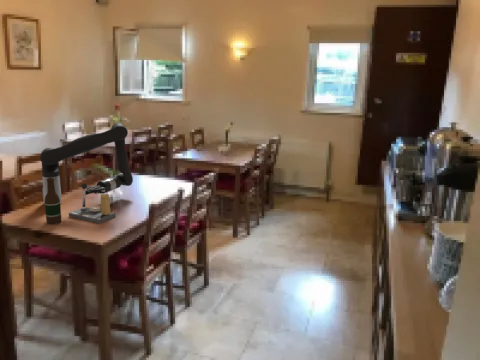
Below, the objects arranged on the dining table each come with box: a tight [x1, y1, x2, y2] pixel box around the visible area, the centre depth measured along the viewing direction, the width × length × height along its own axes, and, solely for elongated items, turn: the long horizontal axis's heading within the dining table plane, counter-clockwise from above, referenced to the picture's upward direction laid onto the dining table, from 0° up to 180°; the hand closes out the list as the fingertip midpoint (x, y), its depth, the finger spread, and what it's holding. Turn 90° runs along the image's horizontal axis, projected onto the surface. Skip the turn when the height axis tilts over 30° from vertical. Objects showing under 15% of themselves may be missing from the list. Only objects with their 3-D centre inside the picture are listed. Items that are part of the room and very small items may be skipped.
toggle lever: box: [80, 182, 88, 208], centre depth 227 cm, size 3×3×14 cm
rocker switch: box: [88, 206, 101, 212], centre depth 226 cm, size 4×4×2 cm
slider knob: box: [100, 193, 111, 215], centre depth 221 cm, size 4×4×11 cm
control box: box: [68, 206, 116, 224], centre depth 224 cm, size 22×12×2 cm, turn 66°
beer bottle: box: [44, 178, 62, 225], centre depth 211 cm, size 8×8×24 cm
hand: (85, 192), depth 228 cm, fingers closed
